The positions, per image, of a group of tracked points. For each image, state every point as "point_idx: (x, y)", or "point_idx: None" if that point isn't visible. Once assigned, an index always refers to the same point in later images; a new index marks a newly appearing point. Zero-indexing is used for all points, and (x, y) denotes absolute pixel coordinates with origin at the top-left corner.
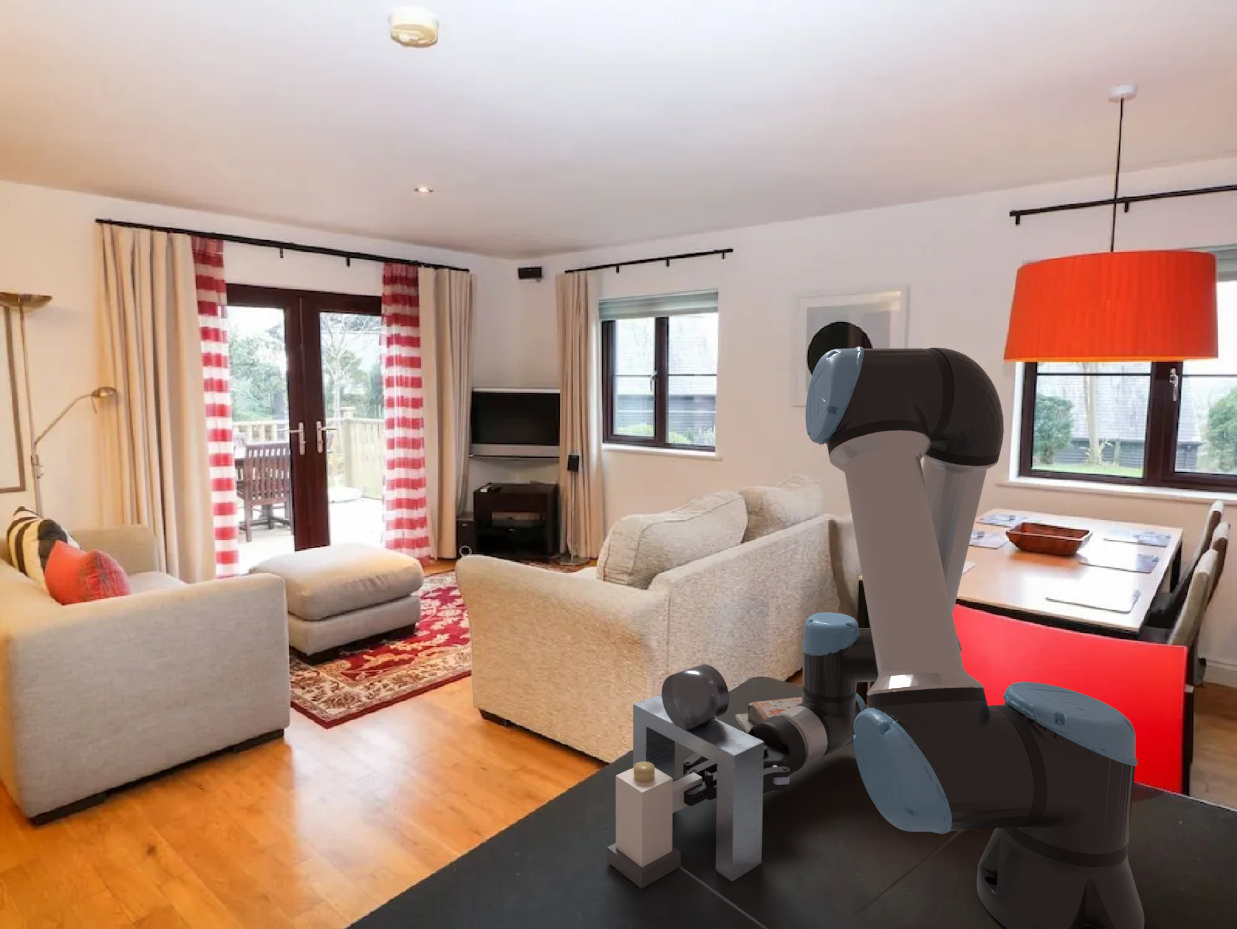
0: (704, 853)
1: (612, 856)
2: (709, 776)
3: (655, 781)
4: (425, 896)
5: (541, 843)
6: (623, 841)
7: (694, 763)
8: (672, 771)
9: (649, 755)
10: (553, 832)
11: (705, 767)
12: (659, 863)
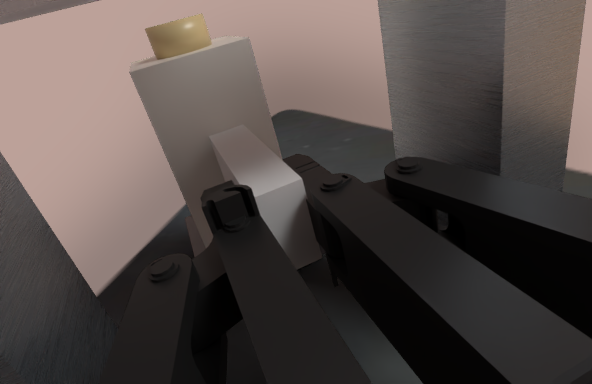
0: (240, 376)
1: None
2: (209, 202)
3: (148, 62)
4: (298, 113)
5: (365, 151)
6: None
7: (414, 192)
8: None
9: (394, 69)
10: (392, 156)
11: (344, 216)
12: (190, 240)
